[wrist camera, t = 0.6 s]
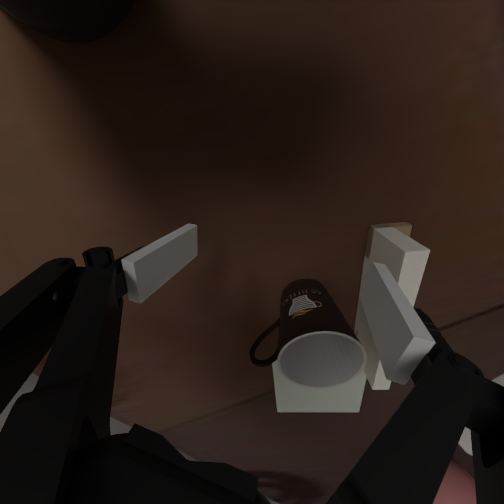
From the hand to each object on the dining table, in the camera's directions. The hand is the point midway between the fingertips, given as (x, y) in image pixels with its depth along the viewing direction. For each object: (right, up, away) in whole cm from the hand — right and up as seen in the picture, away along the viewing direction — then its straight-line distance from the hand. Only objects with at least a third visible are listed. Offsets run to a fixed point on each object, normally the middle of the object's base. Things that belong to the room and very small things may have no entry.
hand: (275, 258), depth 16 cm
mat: (+11, -24, +23) cm, 35 cm away
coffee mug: (+4, -6, +14) cm, 16 cm away
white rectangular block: (+14, -5, +13) cm, 20 cm away
